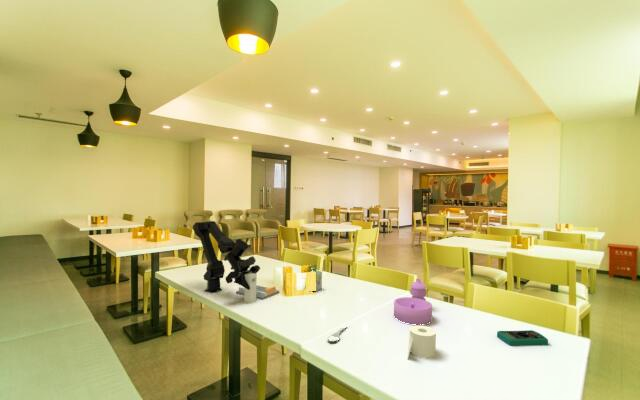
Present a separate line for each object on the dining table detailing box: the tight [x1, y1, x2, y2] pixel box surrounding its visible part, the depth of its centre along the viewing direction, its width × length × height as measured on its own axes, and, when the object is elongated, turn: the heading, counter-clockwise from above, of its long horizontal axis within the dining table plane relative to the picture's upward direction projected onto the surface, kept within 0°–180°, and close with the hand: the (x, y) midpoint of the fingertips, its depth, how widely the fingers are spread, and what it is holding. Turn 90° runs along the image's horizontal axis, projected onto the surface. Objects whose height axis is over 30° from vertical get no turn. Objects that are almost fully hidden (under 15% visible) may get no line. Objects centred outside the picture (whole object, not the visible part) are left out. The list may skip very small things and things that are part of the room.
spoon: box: [327, 328, 346, 343], centre depth 114 cm, size 4×21×2 cm, turn 155°
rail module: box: [243, 273, 258, 304], centre depth 147 cm, size 4×4×13 cm
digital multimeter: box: [496, 329, 549, 347], centre depth 110 cm, size 7×15×3 cm, turn 95°
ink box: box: [308, 264, 323, 292], centre depth 166 cm, size 7×4×13 cm, turn 143°
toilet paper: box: [406, 325, 437, 359], centre depth 100 cm, size 8×11×7 cm
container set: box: [393, 278, 433, 326], centre depth 134 cm, size 25×15×13 cm, turn 153°
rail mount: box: [235, 284, 280, 301], centre depth 160 cm, size 18×13×4 cm
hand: (252, 287), depth 146 cm, fingers closed on rail module, 4 cm apart
